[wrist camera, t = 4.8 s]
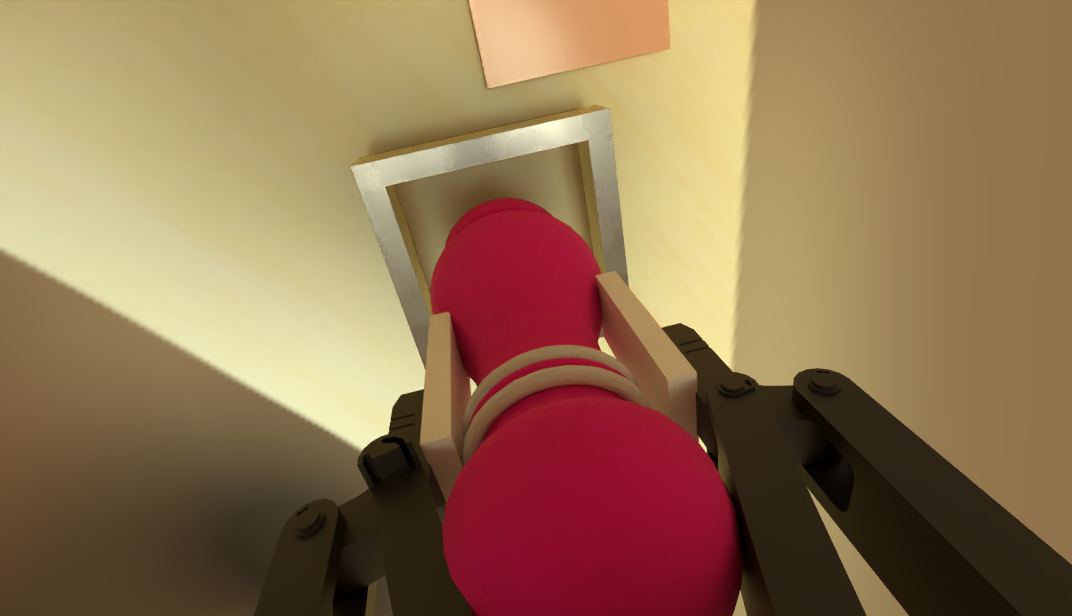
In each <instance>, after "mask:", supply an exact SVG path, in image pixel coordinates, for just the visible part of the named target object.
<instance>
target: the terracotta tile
mask: <svg viewBox="0 0 1072 616" xmlns="http://www.w3.org/2000/svg"><path fill="white" fill-rule="evenodd" d="M468 2H469V6H470V11H471V16H472V20H473V25H474V29H475V34H476V39H477V43H478V48H479V52H480V57H481V62H482V66H483V71H484V75H485V80H486V84H487V88H493V87H497V86H502V85H506V84H511V83H515V82H520V81H524V80H529V79H534V78H538V77H543V76H547V75H552V74H556V73H561V72H565V71H570V70H575V69H579V68H584V67H588V66H593V65H597V64H602V63H606V62H611V61H615V60H620V59H625V58H629V57H634V56H638V55H643V54H647V53H652V52H656V51H661V50H666V49H670V34H669V14H668V0H468Z"/></svg>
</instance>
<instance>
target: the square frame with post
mask: <svg viewBox="0 0 1072 616" xmlns="http://www.w3.org/2000/svg"><path fill="white" fill-rule="evenodd" d="M574 143H578V149H579V156H580V163H581V170H582V177H583V184H584V191H585V198H586V205H587V212H588V219H589V226H590V233H591V240H592V247H593V254H594V257H595V259H596V261H597V263H598V266H599V268H600V271H601V273H602V274H603V273H607V272H611V271H616V272H617V274H618V275H619V276H620V277H621V279H622V280H623V281H624V282H625V284H626V285H627V286H628V287H629V285H628V275H627V266H626V257H625V248H624V238H623V229H622V220H621V211H620V202H619V192H618V183H617V174H616V165H615V155H614V146H613V137H612V128H611V119H610V109H609V108H605V107H601V106H596V105H594V106H590V107H585V108H581V109H576V110H572V111H567V112H563V113H559V114H554V115H550V116H545V117H541V118H536V119H532V120H527V121H523V122H518V123H514V124H510V125H505V126H501V127H496V128H492V129H487V130H483V131H478V132H474V133H469V134H465V135H461V136H456V137H452V138H447V139H443V140H438V141H434V142H429V143H425V144H420V145H416V146H412V147H407V148H403V149H398V150H394V151H389V152H385V153H380V154H376V155H371V156H367V157H363V158H359V159H358V160H357V161H356V162H355V163H354V164H353V165H352V166H351V170H352V172H353V175H354V178H355V180H356V183H357V186H358V188H359V191H360V194H361V197H362V199H363V202H364V205H365V207H366V210H367V213H368V216H369V218H370V221H371V224H372V226H373V229H374V232H375V235H376V237H377V240H378V243H379V245H380V248H381V251H382V253H383V256H384V259H385V262H386V264H387V267H388V270H389V272H390V275H391V278H392V281H393V283H394V286H395V289H396V291H397V294H398V297H399V299H400V302H401V305H402V308H403V310H404V313H405V316H406V318H407V321H408V324H409V327H410V329H411V332H412V335H413V337H414V340H415V343H416V346H417V348H418V351H419V354H420V356H421V359H422V362H423V364H424V367H425V370H426V358H427V345H428V332H429V319H430V316H432V315H433V314H432V307H431V295H430V292H429V289H428V286H427V283H426V280H425V277H424V274H423V271H422V268H421V265H420V262H419V259H418V256H417V253H416V250H415V247H414V244H413V241H412V238H411V235H410V232H409V229H408V226H407V223H406V220H405V217H404V214H403V211H402V208H401V205H400V202H399V199H398V196H397V193H396V190H395V187H394V184H398V183H403V182H407V181H412V180H416V179H420V178H425V177H429V176H433V175H438V174H442V173H447V172H451V171H455V170H460V169H464V168H469V167H473V166H477V165H482V164H486V163H490V162H495V161H499V160H504V159H508V158H512V157H517V156H521V155H525V154H530V153H534V152H539V151H543V150H547V149H552V148H556V147H560V146H565V145H569V144H574ZM600 337H604V333H603V326H602V329H601V332H600V336H599V338H600Z"/></svg>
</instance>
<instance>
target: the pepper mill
mask: <svg viewBox="0 0 1072 616" xmlns="http://www.w3.org/2000/svg"><path fill="white" fill-rule="evenodd" d="M599 274H602V273H601V271H600V268H599V266H598V263H597V261H596V259H595V257H594V255H593V253H592V251H591V249H590V248H589V247H588V245H587V244H586V243H585V241H584V240H583V238H582V237H581V236H580V235H578V234H577V233H576V232H575V231H574V230H573V229H572V228H571V227H569V226H568V225H566V224H565V223H563V222H561V221H559V220H557V219H556V218H554V217H553V216H552V215H551V214H549V213H548V212H547V211H546V210H544V209H543V208H541V207H539V206H538V205H536V204H534V203H531V202H529V201H525V200H521V199H513V198H504V199H495V200H491V201H488V202H485V203H482V204H480V205H478V206H476V207H474V208H473V209H471V210H469V211H468V212H467V213H466V214H465V215H463V216H462V217H461V218H460V219H459V220H458V222H457V223H456V224H455V226H454V227H453V228H452V230H451V232H450V234H449V236H448V239H447V241H446V245H445V249H444V250H443V252H442V254H441V256H440V258H439V260H438V262H437V264H436V267H435V270H434V273H433V276H432V281H431V288H430V294H431V307H432V314H433V315H436V314H440V313H444V312H449V313H450V315H451V320H452V324H453V328H454V333H455V337H456V341H457V345H458V348H459V352H460V355H461V358H462V362H463V365H464V368H465V370H466V372H467V374H468V376H469V377H470V378H471V379H472V380H473V381H474V382H475V383H476V385H477V389H476V390H475V391H474V393H473V394H472V396H471V398H470V400H469V402H468V404H467V407H466V410H465V414H464V417H463V425H462V437H463V442H464V446H463V463H464V467H463V469H462V470H461V471H460V473H459V474H458V476H457V478H456V481H455V483H454V486H453V488H452V491H451V493H450V496H449V498H448V501H447V503H446V509H445V515H444V520H443V529H442V530H443V546H444V555H445V558H446V561H447V564H448V568H449V571H450V574H451V578H452V580H453V582H454V583H455V585H456V586H457V588H458V589H459V591H460V592H461V594H462V595H463V596H464V598H465V599H466V601H467V602H468V603H469V605H470V608H471V611H472V613H473V616H732V615H733V612H734V610H735V606H736V603H737V599H738V596H739V592H740V589H741V585H742V569H743V550H742V541H741V534H740V528H739V522H738V517H737V514H736V511H735V508H734V505H733V502H732V499H731V497H730V494H729V491H728V489H727V487H726V485H725V484H724V482H723V480H722V478H721V476H720V474H719V472H718V470H717V469H716V467H715V465H714V463H713V461H712V459H711V458H710V457H709V456H708V454H707V453H706V452H705V451H704V449H703V448H702V447H701V445H700V444H699V443H698V442H697V440H695V439H694V438H693V437H692V436H691V435H690V434H689V433H687V432H686V431H685V430H684V429H683V428H682V427H681V426H679V425H678V424H677V423H675V422H674V421H673V420H671V419H670V418H668V417H667V416H665V415H664V414H662V413H661V412H659V411H657V410H654V409H652V407H651V405H650V403H649V401H648V400H647V398H646V397H645V395H644V394H643V393H642V391H641V389H640V387H639V384H638V382H637V380H636V379H635V377H634V376H633V374H632V373H631V372H630V370H629V369H627V368H626V367H625V366H624V365H623V364H622V363H621V362H620V361H618V360H617V359H615V358H614V357H612V356H610V355H608V354H606V353H604V352H602V351H601V350H600V347H599V345H598V339H599V336H600V332H601V329H602V310H601V303H600V297H599V293H598V289H597V284H596V277H595V275H599Z"/></svg>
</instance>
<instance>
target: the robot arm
mask: <svg viewBox="0 0 1072 616" xmlns="http://www.w3.org/2000/svg"><path fill="white" fill-rule="evenodd" d="M595 277H596V284H597V289H598V293H599V297H600V303H601V310H602V326H603V333H604V338H605V339H606V341H607V343H608V345H609V347H610V348H611V350H612V352H613V354H614V355H615V357H616V359H617V360H618V361H620V362H621V363H622V364H623V365H624V366H625V367H626V368H627V369H629V370H630V372H631V373H632V374H633V376H634V377H635V379H636V380H637V382H638V384H639V387H640V389H641V391H642V393H643V394H644V395H645V397H646V398H647V400H648V401H649V403H650V405H651V407H652V409H654V410H657V411H659V412H661V413H662V414H664V415H665V416H667V417H668V418H670V419H671V420H673V421H674V422H675V423H677V424H678V425H679V426H681V427H682V428H683V429H684V430H685V431H686V432H687V433H689V434H690V435H691V436H692V437H693V438H694V439H695V440H697V442H698V443H699V437H700V439H701V440H702V442H703V443H704V445H705V446H706V448H707V454H708V456H709V457H710V458H711V459H712V461H713V463H714V465H715V467H716V469H717V470H718V472H719V474H720V476H721V478H722V480H723V482H724V484H725V485H726V487H727V489H728V491H729V494H730V497H731V499H732V502H733V505H734V508H735V511H736V514H737V517H738V522H739V528H740V534H741V541H742V550H743V569H742V585H741V589H740V590H741V594H742V597H743V601H744V605H745V609H746V613H747V616H866V614H865V611H864V609H863V607H862V605H861V603H860V601H859V599H858V596H857V594H856V592H855V590H854V588H853V586H852V584H851V581H850V579H849V577H848V575H847V573H846V571H845V568H844V566H843V564H842V562H841V560H840V558H839V556H838V553H837V551H836V549H835V547H834V545H833V543H832V541H831V538H830V536H829V534H828V532H827V530H826V528H825V525H824V523H823V521H822V519H821V517H820V515H819V512H818V510H817V508H816V506H815V504H814V502H813V500H812V497H811V495H810V493H809V491H808V489H809V490H810V491H811V493H812V494H813V495H814V496H815V498H816V499H817V500H818V501H819V503H820V504H821V505H822V507H823V508H824V509H825V510H826V511H827V513H828V514H829V515H830V517H831V518H832V519H833V520H834V522H835V523H836V524H837V525H838V527H839V528H840V529H841V530H842V532H843V533H844V534H845V536H846V537H847V538H848V539H849V541H850V542H851V543H852V544H853V546H854V547H855V548H856V549H857V551H858V552H859V553H860V554H861V556H862V557H863V558H864V559H865V561H866V562H867V563H868V564H869V566H870V567H871V568H872V570H873V571H874V572H875V573H876V575H877V576H878V577H879V578H880V580H881V581H882V582H883V583H884V585H885V586H886V587H887V589H888V590H889V591H890V592H891V594H892V595H893V596H894V597H895V599H896V600H897V601H898V602H899V604H900V605H901V606H902V607H903V609H904V610H905V611H906V612H907V614H908V615H909V616H1072V565H1071V564H1070V563H1069V562H1068V561H1066V560H1065V559H1064V558H1063V557H1062V556H1061V555H1059V554H1058V553H1057V552H1056V551H1055V550H1053V549H1052V548H1051V547H1050V546H1049V545H1047V544H1046V543H1045V542H1044V541H1043V540H1042V539H1040V538H1039V537H1038V536H1037V535H1036V534H1034V533H1033V532H1032V531H1031V530H1030V529H1028V528H1027V527H1026V526H1025V525H1024V524H1022V523H1021V522H1020V521H1019V520H1018V519H1016V518H1015V517H1014V516H1013V515H1011V514H1010V513H1009V512H1008V511H1007V510H1006V509H1004V508H1003V507H1002V506H1001V505H1000V504H998V503H997V502H996V501H995V500H994V499H992V498H991V497H990V496H989V495H988V494H986V493H985V492H984V491H983V490H982V489H980V488H979V487H978V486H977V485H976V484H975V483H973V482H972V481H971V480H970V479H969V478H967V477H966V476H965V475H964V474H963V473H961V472H960V471H959V470H958V469H957V468H955V467H954V466H953V465H952V464H951V463H949V462H948V461H947V460H946V459H945V458H943V457H942V456H941V455H940V454H939V453H937V452H936V451H935V450H934V449H933V448H931V447H930V446H929V445H928V444H926V443H925V442H924V441H923V440H922V439H921V438H919V437H918V436H917V435H916V434H915V433H913V432H912V431H911V430H910V429H909V428H908V427H906V426H905V425H904V424H903V423H901V422H900V421H899V420H898V419H897V418H896V417H894V416H893V415H892V414H891V413H889V412H888V411H887V410H886V409H885V408H883V407H882V406H881V405H880V404H879V403H878V402H876V401H875V400H874V399H873V398H872V397H870V396H869V395H868V394H867V393H865V392H864V391H863V390H862V389H861V388H860V387H858V386H857V385H856V384H855V383H853V381H851V380H850V379H849V378H847V377H846V376H844V375H842V374H840V373H838V372H834V371H832V370H828V369H819V368H816V369H807V370H804V371H802V372H799V373H798V374H797V375H796V376H795V377H794V383H793V386H761V385H759V384H758V383H757V382H756V381H755V380H754V379H752V378H751V377H749V376H747V375H744V374H740V373H737V372H732V371H731V369H730V368H729V367H728V366H727V365H726V364H725V363H724V362H723V361H722V360H721V359H720V358H719V356H718V355H717V354H716V353H715V352H714V351H713V350H712V349H711V348H709V346H708V345H707V343H706V342H705V341H704V340H702V338H701V337H700V336H699V335H698V334H697V333H696V332H695V330H694V329H692V328H689V327H687V326H685V325H683V324H681V323H679V324H675V325H671V326H667V327H663V328H661V327H660V326H659V325H658V323H657V322H656V321H655V320H654V318H653V317H652V316H651V315H650V313H649V312H648V311H647V310H646V308H645V307H644V306H643V305H642V303H641V302H640V301H639V300H638V298H637V297H636V296H635V295H634V294H633V292H632V291H631V290H630V289H629V287H628V286H627V285H626V284H625V282H624V281H623V280H622V279H621V277H620V276H619V275H618V274H617V272H616V271H611V272H607V273H603V274H599V275H595ZM470 398H471V389H470V377H469V376H468V374H467V372H466V370H465V368H464V365H463V362H462V358H461V355H460V352H459V348H458V345H457V341H456V337H455V333H454V328H453V324H452V320H451V315H450V313H449V312H444V313H440V314H436V315H432V316H430V319H429V332H428V345H427V358H426V371H425V384H424V389H423V390H419V391H415V392H411V393H407V394H403V395H401V396H400V397H399V399H398V400H397V402H396V403H395V405H394V406H393V409H392V415H391V422H390V427H389V431H390V432H389V433H388V435H384V436H381V437H379V438H378V439H376V440H374V441H372V442H371V443H370V444H369V445H368V446H366V447H365V448H364V449H363V451H362V452H361V454H360V456H359V457H358V464H357V466H358V468H359V470H360V472H361V474H362V476H363V477H364V479H365V481H366V483H367V485H368V487H369V489H368V490H366V491H365V492H364V493H362V494H361V495H359V496H357V497H356V498H354V499H352V500H350V501H348V502H346V503H344V504H342V505H340V506H339V507H338V506H337V505H336V504H335V502H334V501H332V500H328V499H321V500H315V501H313V502H310V503H308V504H306V505H304V506H303V507H301V508H300V509H298V510H297V511H296V512H294V514H293V515H292V516H291V517H290V518H289V519H288V520H287V521H286V523H285V525H284V527H283V529H282V531H281V533H280V536H279V540H278V542H277V545H276V549H275V552H274V555H273V558H272V561H271V564H270V567H269V571H268V573H267V577H266V580H265V583H264V586H263V589H262V592H261V596H260V598H259V602H258V605H257V608H256V611H255V614H254V616H374V607H375V598H376V587H377V580H378V579H380V578H382V577H383V576H385V575H386V579H387V585H388V591H389V596H390V601H391V607H392V612H393V616H473V613H472V611H471V608H470V605H469V603H468V602H467V601H466V599H465V598H464V596H463V595H462V594H461V592H460V591H459V589H458V588H457V586H456V585H455V583H454V582H453V580H452V578H451V574H450V571H449V568H448V564H447V561H446V558H445V555H444V546H443V530H442V529H443V520H444V515H445V509H446V503H447V501H448V498H449V496H450V493H451V491H452V488H453V486H454V483H455V481H456V478H457V476H458V474H459V473H460V471H461V470H462V469H463V467H464V463H463V446H464V442H463V437H462V425H463V417H464V414H465V410H466V407H467V404H468V402H469V400H470ZM806 486H807V487H806ZM807 488H808V489H807Z"/></svg>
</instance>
